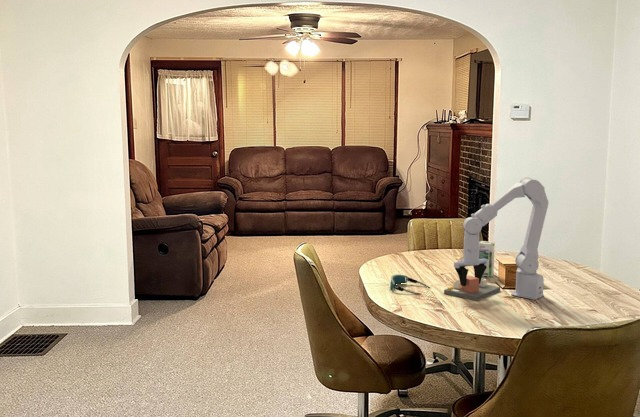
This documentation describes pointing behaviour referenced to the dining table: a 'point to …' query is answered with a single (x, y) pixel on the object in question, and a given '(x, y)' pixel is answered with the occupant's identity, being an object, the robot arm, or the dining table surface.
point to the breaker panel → (476, 296)
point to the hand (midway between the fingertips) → (470, 284)
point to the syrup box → (487, 256)
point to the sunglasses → (401, 279)
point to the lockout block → (471, 284)
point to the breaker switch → (483, 282)
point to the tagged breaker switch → (457, 284)
